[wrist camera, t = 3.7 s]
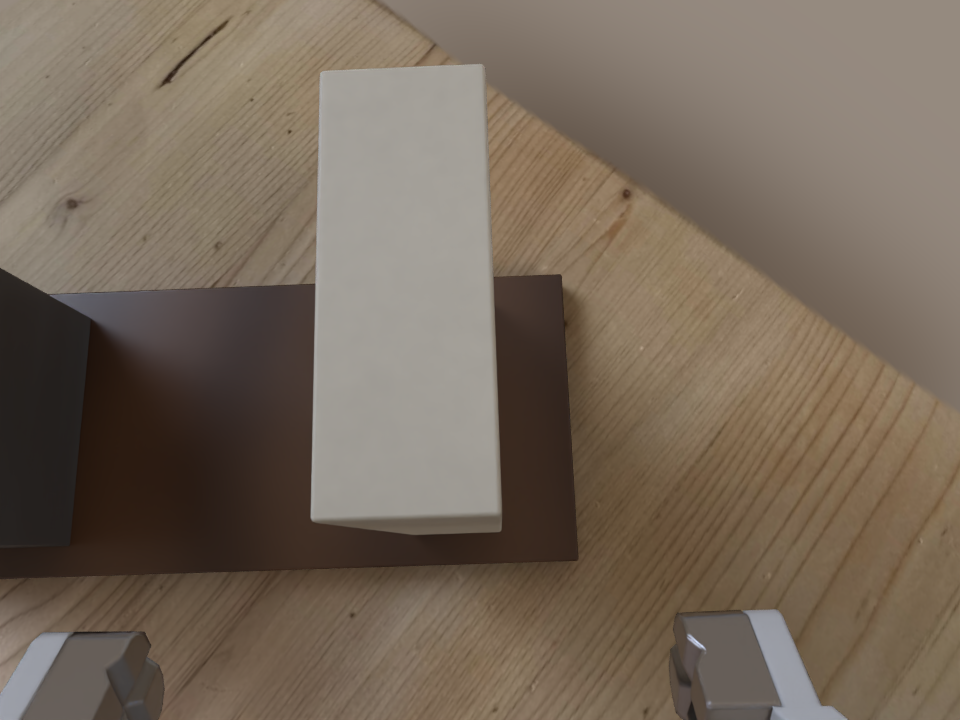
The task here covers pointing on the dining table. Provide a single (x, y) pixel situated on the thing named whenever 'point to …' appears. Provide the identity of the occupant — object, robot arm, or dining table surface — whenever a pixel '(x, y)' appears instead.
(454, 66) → the white book
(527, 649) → the dining table surface
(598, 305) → the dining table surface
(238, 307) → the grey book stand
